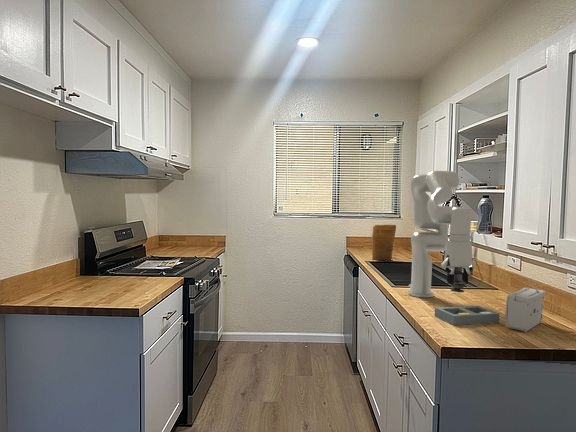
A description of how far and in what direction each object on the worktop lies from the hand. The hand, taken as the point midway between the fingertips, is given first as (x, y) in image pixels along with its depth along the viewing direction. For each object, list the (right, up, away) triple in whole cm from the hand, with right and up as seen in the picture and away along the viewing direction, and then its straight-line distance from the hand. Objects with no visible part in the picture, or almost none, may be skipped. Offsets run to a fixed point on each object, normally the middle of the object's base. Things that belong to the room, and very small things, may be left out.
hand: (457, 283), depth 162 cm
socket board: (+4, -15, +2) cm, 16 cm away
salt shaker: (0, -3, 0) cm, 3 cm away
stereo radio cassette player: (+25, -16, -4) cm, 30 cm away
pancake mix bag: (+6, -8, +152) cm, 153 cm away
